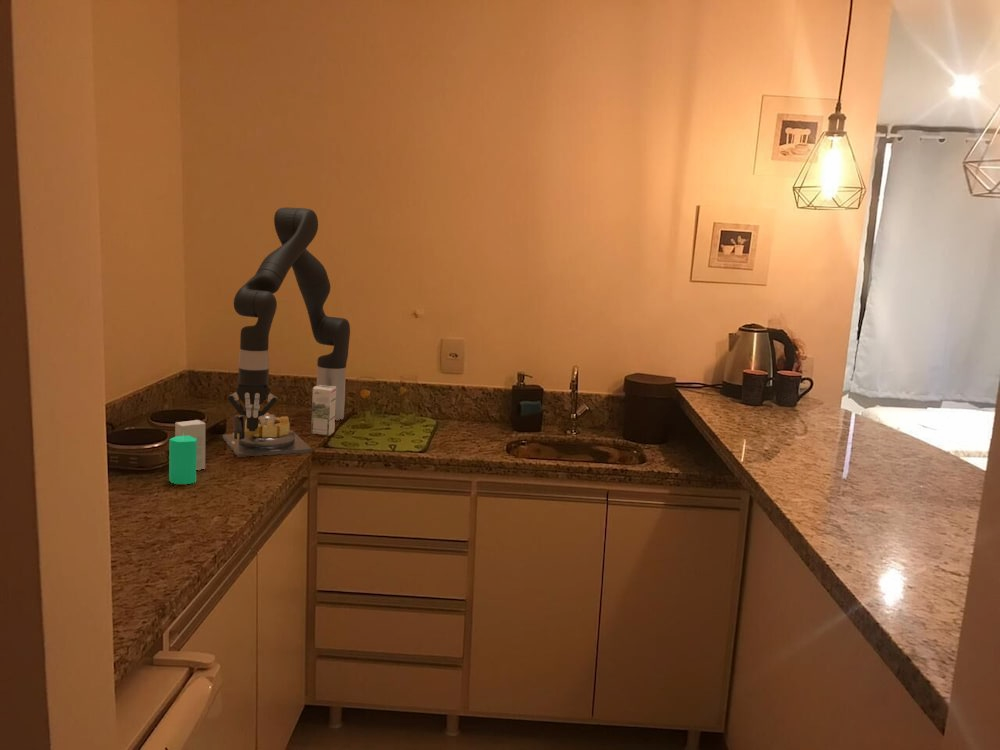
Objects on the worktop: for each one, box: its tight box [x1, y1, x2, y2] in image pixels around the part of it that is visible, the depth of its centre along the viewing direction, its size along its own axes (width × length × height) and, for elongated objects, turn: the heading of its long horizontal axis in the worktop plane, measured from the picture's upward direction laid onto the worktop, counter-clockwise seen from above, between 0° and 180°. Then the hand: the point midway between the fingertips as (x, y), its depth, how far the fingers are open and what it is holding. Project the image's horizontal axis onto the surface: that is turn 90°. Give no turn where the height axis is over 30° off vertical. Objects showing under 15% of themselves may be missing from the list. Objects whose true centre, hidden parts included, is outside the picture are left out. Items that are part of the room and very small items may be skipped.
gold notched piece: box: [232, 412, 291, 440], centre depth 214 cm, size 19×12×7 cm, turn 157°
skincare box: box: [174, 419, 207, 471], centre depth 191 cm, size 6×4×12 cm
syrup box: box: [310, 384, 336, 437], centre depth 234 cm, size 6×6×14 cm
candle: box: [168, 432, 197, 485], centre depth 182 cm, size 6×6×12 cm
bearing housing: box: [222, 413, 313, 458], centre depth 218 cm, size 20×20×8 cm
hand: (252, 430), depth 206 cm, fingers closed
